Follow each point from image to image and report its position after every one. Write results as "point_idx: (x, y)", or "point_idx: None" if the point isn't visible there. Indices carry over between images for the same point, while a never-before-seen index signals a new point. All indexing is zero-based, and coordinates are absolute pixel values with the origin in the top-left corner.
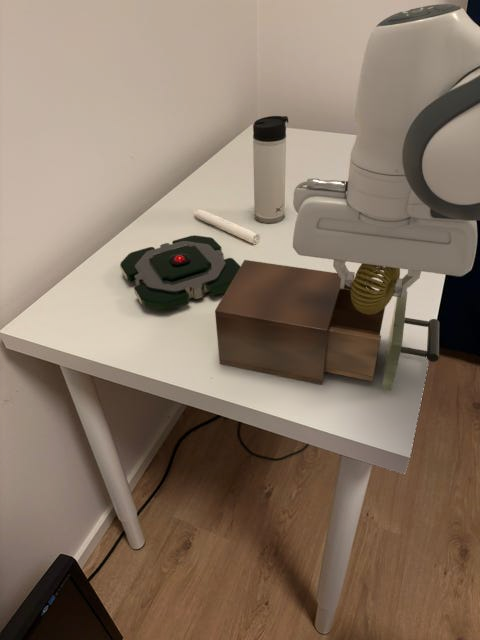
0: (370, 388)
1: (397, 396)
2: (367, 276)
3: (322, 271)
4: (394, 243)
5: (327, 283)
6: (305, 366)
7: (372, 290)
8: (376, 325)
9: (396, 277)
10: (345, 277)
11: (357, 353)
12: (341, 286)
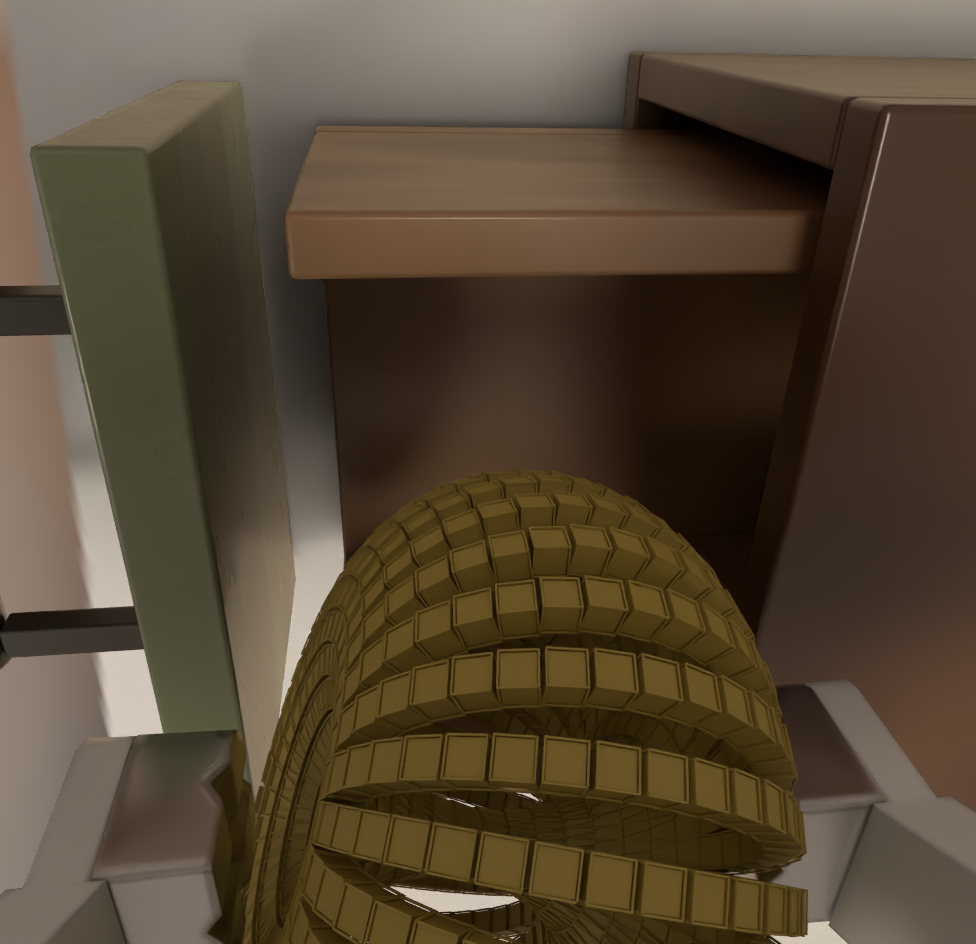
0: (321, 110)
1: (136, 82)
2: (682, 920)
3: None
4: None
5: None
6: (805, 63)
7: (522, 684)
8: None
9: None
10: (894, 820)
11: (469, 164)
12: (851, 700)
